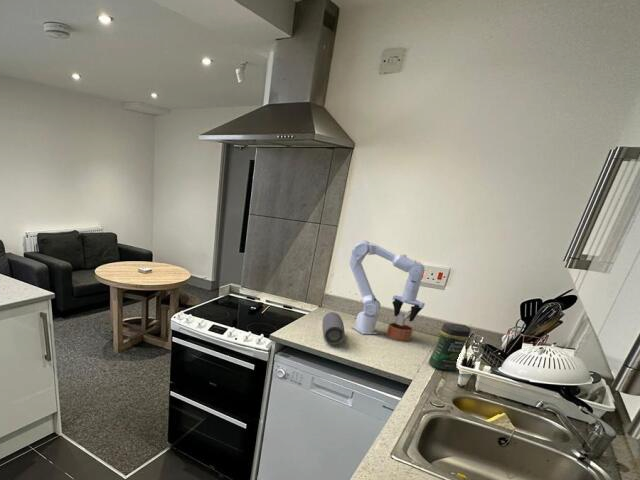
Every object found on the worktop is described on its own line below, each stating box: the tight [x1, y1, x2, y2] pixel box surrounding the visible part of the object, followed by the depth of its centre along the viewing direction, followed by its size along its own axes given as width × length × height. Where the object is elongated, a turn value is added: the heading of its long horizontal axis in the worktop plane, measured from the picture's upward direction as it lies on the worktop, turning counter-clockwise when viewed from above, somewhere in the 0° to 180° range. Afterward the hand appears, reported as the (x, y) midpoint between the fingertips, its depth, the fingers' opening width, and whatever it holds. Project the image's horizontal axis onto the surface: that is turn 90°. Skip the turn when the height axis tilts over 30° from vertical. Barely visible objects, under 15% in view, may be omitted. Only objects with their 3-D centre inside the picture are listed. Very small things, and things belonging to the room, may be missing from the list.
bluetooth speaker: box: [321, 311, 346, 345], centre depth 179 cm, size 23×9×10 cm, turn 164°
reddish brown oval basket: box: [385, 322, 415, 342], centre depth 190 cm, size 14×11×6 cm
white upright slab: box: [394, 310, 411, 326], centre depth 183 cm, size 7×2×8 cm, turn 20°
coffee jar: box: [428, 322, 472, 372], centre depth 156 cm, size 10×8×19 cm
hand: (403, 318), depth 183 cm, fingers closed on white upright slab, 7 cm apart
